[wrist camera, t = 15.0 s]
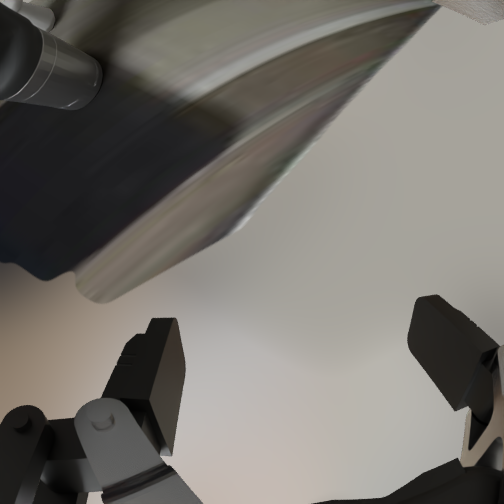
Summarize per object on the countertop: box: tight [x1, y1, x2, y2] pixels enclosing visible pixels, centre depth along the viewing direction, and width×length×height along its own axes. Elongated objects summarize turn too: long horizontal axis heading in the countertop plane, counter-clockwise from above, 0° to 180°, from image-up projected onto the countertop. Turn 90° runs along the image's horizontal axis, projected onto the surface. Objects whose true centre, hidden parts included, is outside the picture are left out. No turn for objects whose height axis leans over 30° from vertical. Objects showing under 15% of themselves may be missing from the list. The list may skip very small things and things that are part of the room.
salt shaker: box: [2, 0, 55, 32], centre depth 25 cm, size 6×6×13 cm
